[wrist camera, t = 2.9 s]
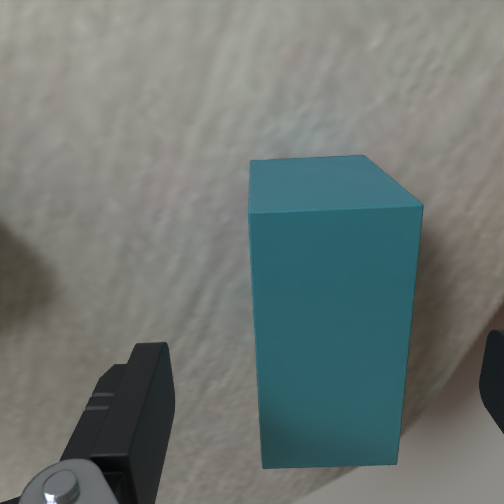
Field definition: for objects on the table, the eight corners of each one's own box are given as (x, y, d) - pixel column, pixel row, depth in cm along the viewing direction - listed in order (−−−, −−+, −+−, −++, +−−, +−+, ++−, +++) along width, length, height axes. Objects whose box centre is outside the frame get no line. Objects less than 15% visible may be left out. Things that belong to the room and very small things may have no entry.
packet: (364, 154, 16) (424, 204, 10) (355, 347, 19) (397, 465, 13) (250, 160, 16) (248, 212, 10) (260, 350, 19) (262, 470, 13)
